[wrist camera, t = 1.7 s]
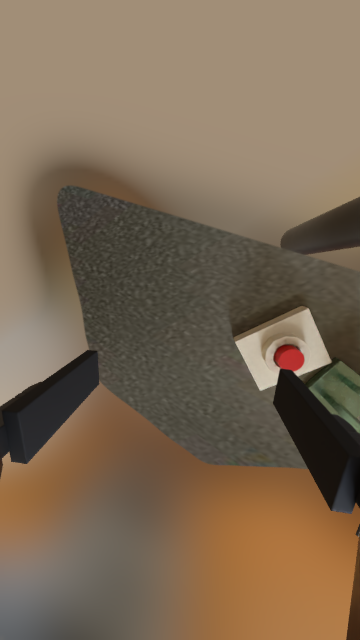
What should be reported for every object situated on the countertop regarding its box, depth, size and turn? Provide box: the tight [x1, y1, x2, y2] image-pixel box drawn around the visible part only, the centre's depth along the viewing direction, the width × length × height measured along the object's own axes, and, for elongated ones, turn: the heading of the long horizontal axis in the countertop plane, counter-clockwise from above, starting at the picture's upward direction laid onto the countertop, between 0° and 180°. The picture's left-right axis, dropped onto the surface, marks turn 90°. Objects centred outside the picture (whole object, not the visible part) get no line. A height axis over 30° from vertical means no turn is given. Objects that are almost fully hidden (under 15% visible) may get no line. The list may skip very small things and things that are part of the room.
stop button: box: [275, 345, 305, 371], centre depth 30 cm, size 4×4×2 cm
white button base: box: [233, 306, 332, 391], centre depth 32 cm, size 12×10×4 cm
